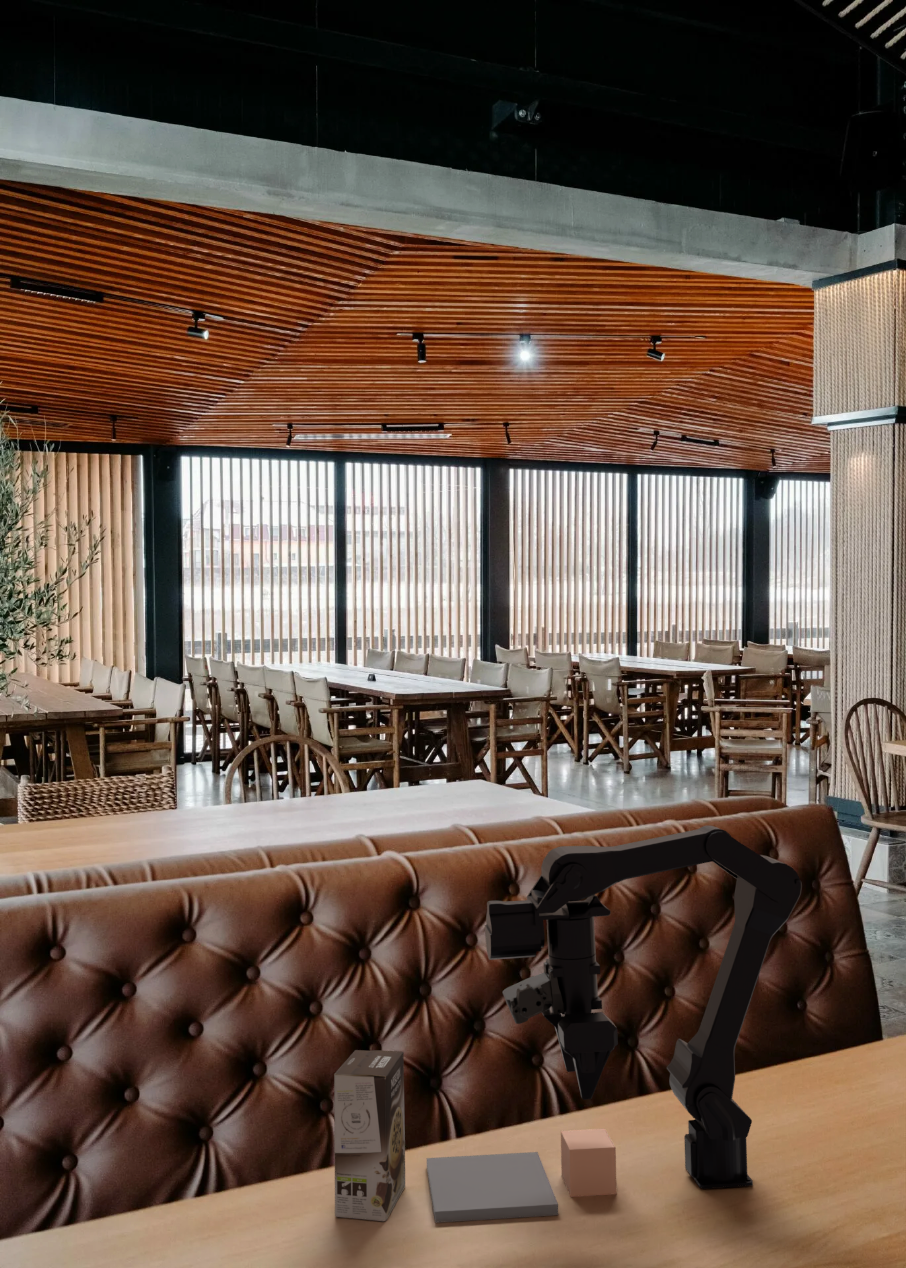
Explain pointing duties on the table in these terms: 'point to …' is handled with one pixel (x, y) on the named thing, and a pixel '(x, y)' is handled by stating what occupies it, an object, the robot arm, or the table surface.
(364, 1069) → the coffee box
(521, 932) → the robot arm
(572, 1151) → the terracotta block
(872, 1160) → the table surface
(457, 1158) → the slate board
